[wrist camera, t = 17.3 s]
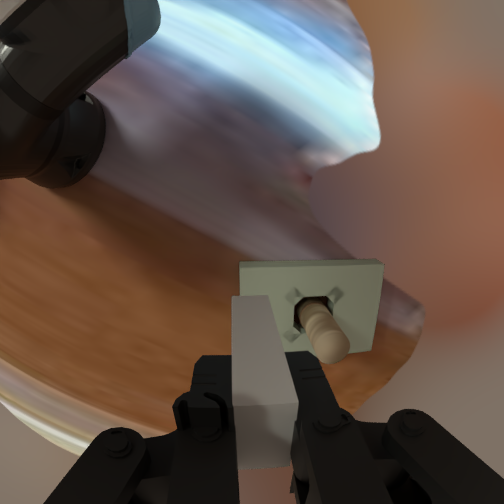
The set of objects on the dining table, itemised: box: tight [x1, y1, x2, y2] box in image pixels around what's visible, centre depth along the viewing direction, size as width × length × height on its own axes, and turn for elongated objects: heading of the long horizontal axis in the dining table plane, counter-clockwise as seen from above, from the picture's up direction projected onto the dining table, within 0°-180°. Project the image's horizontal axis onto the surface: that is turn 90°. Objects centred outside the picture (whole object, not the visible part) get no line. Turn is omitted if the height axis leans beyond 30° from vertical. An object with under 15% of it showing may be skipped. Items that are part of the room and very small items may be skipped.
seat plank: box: [239, 259, 385, 357], centre depth 42 cm, size 20×14×3 cm
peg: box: [297, 296, 350, 364], centre depth 37 cm, size 4×4×12 cm
